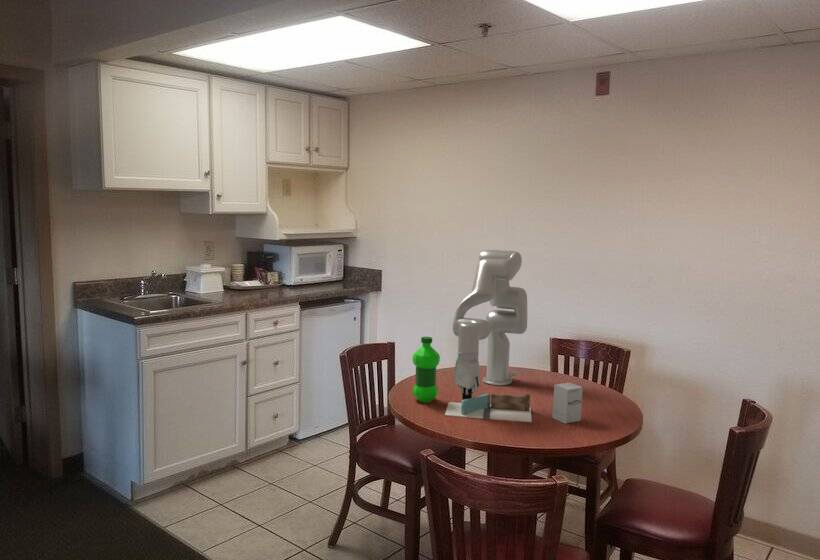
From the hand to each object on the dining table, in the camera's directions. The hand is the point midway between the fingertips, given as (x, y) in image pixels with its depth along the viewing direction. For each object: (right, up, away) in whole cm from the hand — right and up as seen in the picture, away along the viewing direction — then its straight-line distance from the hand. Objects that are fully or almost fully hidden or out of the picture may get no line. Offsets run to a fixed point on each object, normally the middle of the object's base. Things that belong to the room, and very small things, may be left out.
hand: (466, 403), depth 228 cm
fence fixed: (+16, -2, +2) cm, 17 cm away
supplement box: (+35, -4, -7) cm, 36 cm away
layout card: (+8, -3, -1) cm, 9 cm away
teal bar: (+3, -2, -1) cm, 4 cm away
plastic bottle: (-15, -1, +12) cm, 19 cm away
